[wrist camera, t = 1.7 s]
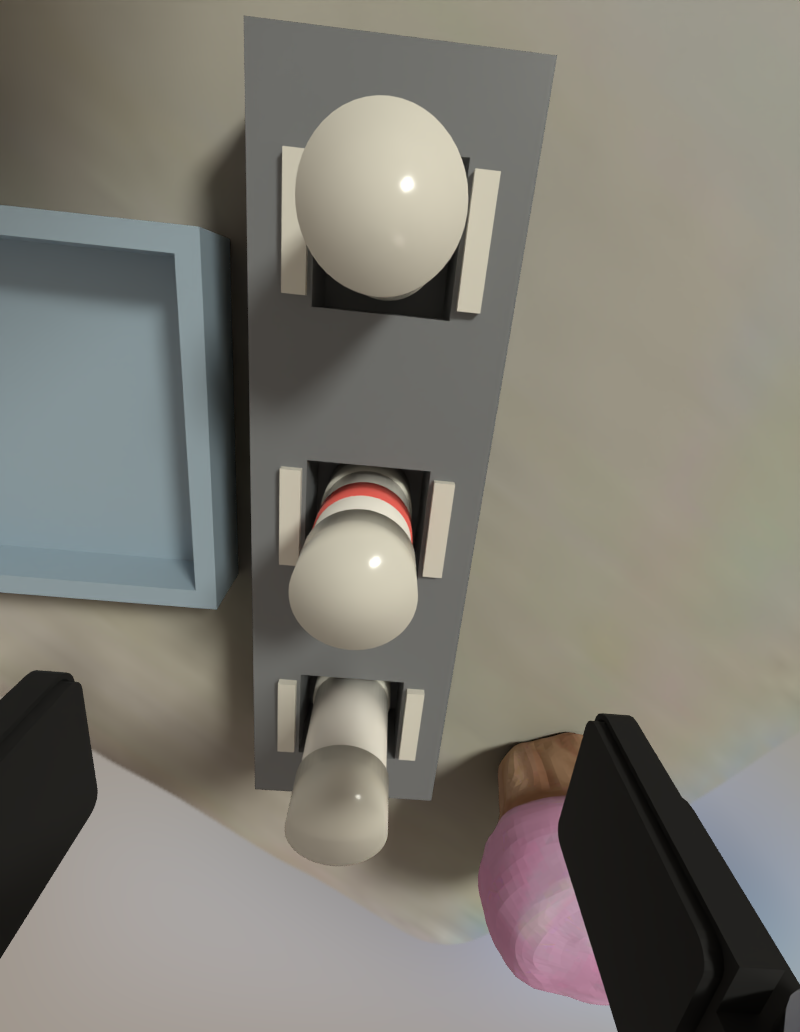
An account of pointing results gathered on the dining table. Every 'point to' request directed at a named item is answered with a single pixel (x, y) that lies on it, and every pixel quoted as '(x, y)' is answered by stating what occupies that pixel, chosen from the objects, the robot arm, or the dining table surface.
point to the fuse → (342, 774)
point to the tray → (116, 410)
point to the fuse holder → (376, 365)
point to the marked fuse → (358, 561)
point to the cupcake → (537, 875)
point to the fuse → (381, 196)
